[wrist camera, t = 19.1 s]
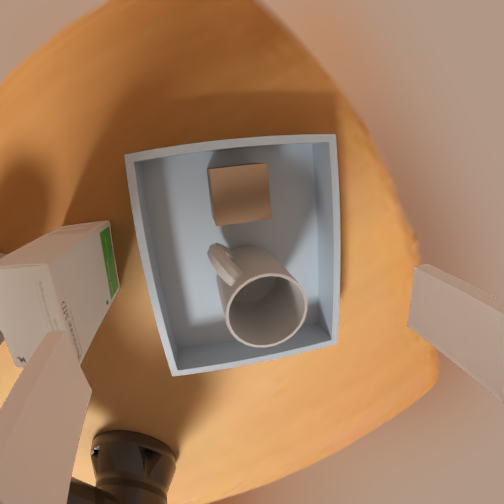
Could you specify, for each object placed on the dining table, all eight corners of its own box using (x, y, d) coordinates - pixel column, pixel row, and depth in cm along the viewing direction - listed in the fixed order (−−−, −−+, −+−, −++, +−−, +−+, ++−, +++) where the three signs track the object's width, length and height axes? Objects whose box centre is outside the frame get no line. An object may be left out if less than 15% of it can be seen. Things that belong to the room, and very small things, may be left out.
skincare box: (121, 288, 32) (84, 376, 17) (71, 292, 31) (15, 371, 16) (110, 216, 29) (50, 263, 15) (57, 222, 28) (-22, 269, 14)
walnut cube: (206, 168, 29) (209, 169, 25) (255, 162, 30) (267, 163, 25) (212, 216, 31) (216, 226, 26) (259, 210, 32) (271, 218, 27)
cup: (246, 315, 35) (264, 360, 27) (183, 259, 32) (182, 295, 23) (291, 273, 35) (322, 308, 26) (231, 211, 31) (248, 230, 23)
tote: (172, 351, 35) (172, 376, 31) (134, 155, 28) (124, 154, 23) (321, 323, 39) (337, 343, 34) (315, 137, 31) (335, 134, 27)
